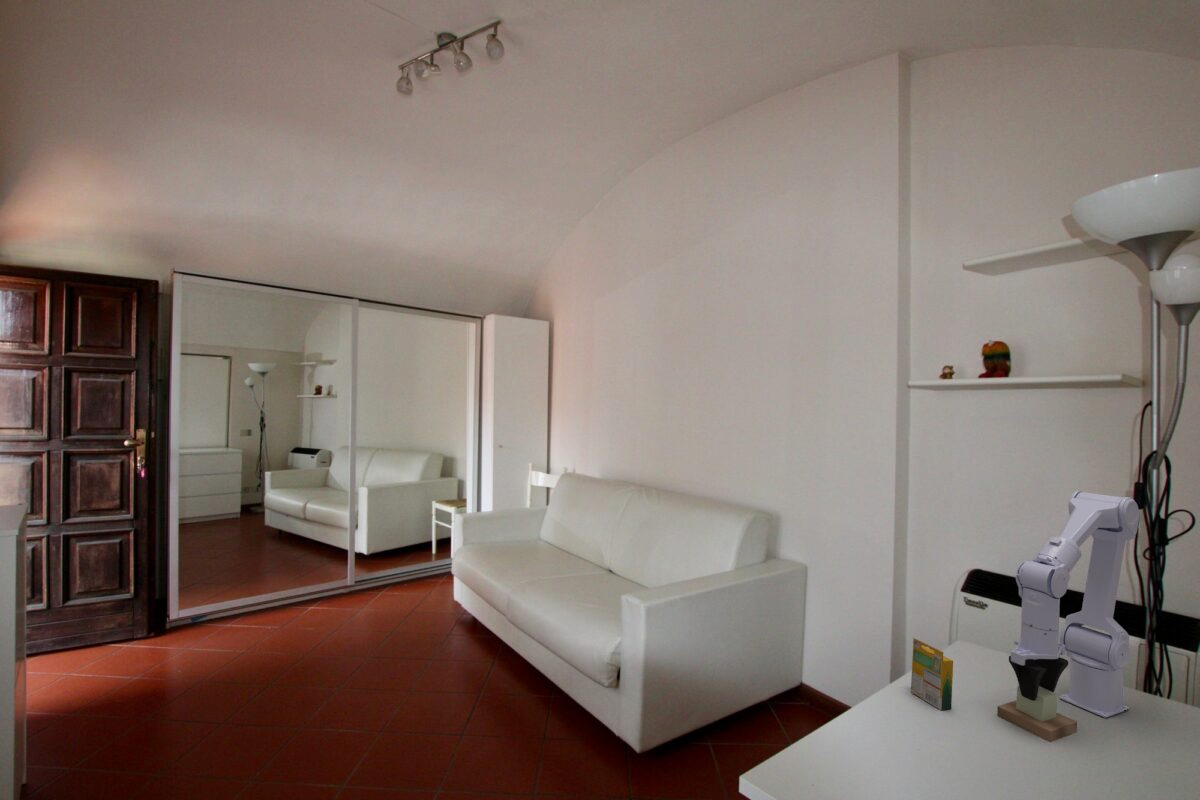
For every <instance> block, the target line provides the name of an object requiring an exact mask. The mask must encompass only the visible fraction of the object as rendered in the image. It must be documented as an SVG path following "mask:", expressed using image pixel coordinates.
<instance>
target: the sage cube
mask: <svg viewBox="0 0 1200 800" xmlns="http://www.w3.org/2000/svg"><path fill="white" fill-rule="evenodd" d="M1016 689H1017V690H1016V700H1017V701H1016V700H1015V701H1016V709H1018V710H1020V711H1022V712H1024V713H1026V714H1028V715H1030V716H1032V717H1034V718H1036V719H1038V720H1039V721H1041V722H1043V721H1046V720H1050V719H1053V718H1056V713H1057V712H1058V710H1057V709H1058V694H1057V693H1056V692H1055V691H1054V692H1051V691H1049V690H1047V689H1045V688H1042V687H1040V686H1039V688H1038V694H1037V698H1036V700H1035V701H1032V700H1029V699H1027V698H1025V697H1023V696H1022V695H1021V691H1020V687H1019V685H1017V688H1016Z"/></svg>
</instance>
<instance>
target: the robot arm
mask: <svg viewBox="0 0 1200 800" xmlns="http://www.w3.org/2000/svg"><path fill="white" fill-rule="evenodd" d="M1067 505H1068V506H1067V507H1068V514H1069V516H1068V519H1067V520H1066V522H1065V524H1064V526H1063V528H1062V529H1061V530H1060V531H1061V532H1060V533H1059V535H1058V536H1050V537H1049V538H1047V539H1046V541H1045V542H1044V544H1043V545H1042V546H1041V548H1040V549H1039V550H1038V551H1037V553H1036V554H1035V555H1034V557H1032V559H1031V560H1026V561H1022V562H1021V563H1020V564H1019V565H1018V567H1017V570H1016V574H1015V583H1016V585H1017V587H1018V596H1019V597H1020V598H1021V615H1020V616H1021V617H1020V619H1021V620H1020V621H1021V622H1020V639H1019V638H1018V639H1014V640H1013V644H1014V645H1016V647H1015V649H1014V650H1010V655H1008V662H1009V663H1010V666H1011V667H1012V669H1013V671H1014V673H1015V676H1016V679H1017V682H1018V686H1019V687H1020V691H1021V695H1022V696H1023V697H1025V698H1027V699H1029V700H1032V701H1035V700H1036V698H1037V694H1038V688H1039V686H1040V687H1042V688H1045V689H1047V690H1049V691H1051V692H1054V693H1055V690H1056V688H1057V685H1058V682H1059V680H1060V677H1061V675H1062V674H1063V672H1064V671H1065V669H1066V668H1067V667H1068V666H1069V680H1068V681H1069V682H1068V683H1069V684H1068V685H1069V686H1068V688H1069V689H1068V690H1069V691H1068V692H1067V693H1065V694H1062V695H1061V694H1060V695H1059V699H1060V700H1063V701H1065V702H1067V703H1070V704H1072V705H1074V706H1077V707H1079V708H1081V709H1084V710H1086V711H1089V712H1090V713H1092V714H1095V715H1098V716H1100V717H1102V718H1110V717H1111V716H1115V715H1117V714H1120V713H1123V712H1125V711H1124V710H1126V711H1128V710H1127V709H1129V708H1130V707H1129V706H1127V705H1124V685H1125V684H1124V683H1125V682H1124V681H1125V677H1124V673H1123V671H1122V669H1123V668H1125V667H1126V666H1127V664H1128V662H1129V661H1130V660H1129V659H1130V654H1131V653H1130V651H1131V650H1130V646H1129V645H1130V642H1129V641H1130V637H1129V636H1130V635H1129V633H1128V632H1127V631H1126V630H1125V629H1124V628H1123V627H1122V626H1121V625H1120V624H1119V623H1118V621H1116V620H1115V619H1114V613H1115V608H1116V607H1115V606H1116V602H1117V595H1118V591H1119V590H1118V589H1119V584H1120V578H1121V577H1120V576H1121V570H1122V565H1123V557H1124V552H1125V546H1126V542H1127V541H1131V540H1134V539H1135V538H1136V535H1137V533H1138V526H1139V520H1140V513H1141V512H1140V510H1139V506H1138V503H1137V502H1136V501H1135V500H1134V498H1132V497H1130V496H1129V497H1128V496H1126V497H1123V496H1116V495H1108V494H1101V493H1092V492H1087V491H1085V492H1084V491H1082V490H1076V491H1074V492H1073V493H1072V494H1071V496H1070V497H1069V499H1068V504H1067ZM1090 537H1092V545H1091V546H1092V547H1091V553H1090V557H1089V558H1090V559H1089V564H1088V569H1087V570H1088V571H1087V575H1086V582H1085V589H1084V594H1083V599H1082V600H1083V601H1082V607H1081V610H1080V611H1077V612H1075V613H1070V614H1068V615H1066V617H1065V619H1064V620H1065V621H1064V624H1063V625H1062V627H1061V629H1060V605H1061V604H1060V603H1061V602H1060V601H1061V598H1062V597H1064V595H1065V594H1066V593H1067V590H1068V587H1069V582H1070V580H1071V574H1070V573H1071V572H1072V570H1073V569H1074V568H1075V566H1076V564H1077V563H1078V562H1079V560H1080V559H1081V557H1082V551H1081V548H1080V547H1082V545H1083V544H1084V543H1085V542H1086V541H1087V540H1088V539H1089V538H1090ZM1085 626H1087V627H1085ZM1089 627H1090V628H1089ZM1092 628H1094V629H1092ZM1096 629H1097V630H1096ZM1098 630H1100V631H1098ZM1101 631H1104V632H1106V633H1104V632H1101ZM1065 655H1066V657H1067V658H1068V657H1069V660H1067V659H1065V658H1063V657H1061V656H1065ZM1129 710H1130V709H1129Z"/></svg>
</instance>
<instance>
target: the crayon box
mask: <svg viewBox="0 0 1200 800" xmlns="http://www.w3.org/2000/svg"><path fill="white" fill-rule="evenodd" d="M912 639H913V641H912V643H913V644H912V645H913V647H912V660H911V661H912V662H911V664H912V665H911V680H910V681H911V682H910V683H911V684H910V693H911V694H912V695H914V696H917V697H918V698H920V699H922V700H923V701H925V702H927V703H928V704H930V705H932V706H933V707H934V708H936V709H938V710H939V711H945V710H951V709H952V704H953V703H952V700H953V679H954V678H953V676H954V660H953V659H952V658H951V659H950V658H948V657H947V656H944V651H942V650H941V649H938V648H935V647H934V646H932V645H929V644H928V643H926V642H923V641H921V640H919V639H917V638H915V637H913V638H912Z"/></svg>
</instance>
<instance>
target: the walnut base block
mask: <svg viewBox="0 0 1200 800" xmlns="http://www.w3.org/2000/svg"><path fill="white" fill-rule="evenodd" d="M1016 701H1017V699H1016V700H1013V701H1009V702H1006V703H1003V704H1000V705H997V706H996V707H997V709H996V710H997V711H996V712H997V713H996V715H997V717H998V718H1001V719H1002V720H1004V721H1007V722H1008V723H1010V724H1013V725H1015V726H1017V727H1019V728H1021V729H1023V730H1024V731H1027V732H1029V733H1031V734H1033V735H1036V736H1037V737H1039V738H1041V739H1043V740H1046V741H1047V742H1049V743H1052V742H1055V741H1057V740H1060V739H1063V738H1065V737H1067V736H1070V735H1072V734H1075V733H1077V732H1078V722H1077V721H1076V720H1074V719H1072V718H1069V717H1067V716H1065V715H1063V714H1060V713H1058V712H1056V718H1053V719H1050V720H1046V721H1043V722H1041V721H1039V720H1038V719H1036V718H1034V717H1032V716H1030V715H1028V714H1026V713H1024V712H1022V711H1020V710H1018V709H1016Z"/></svg>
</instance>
